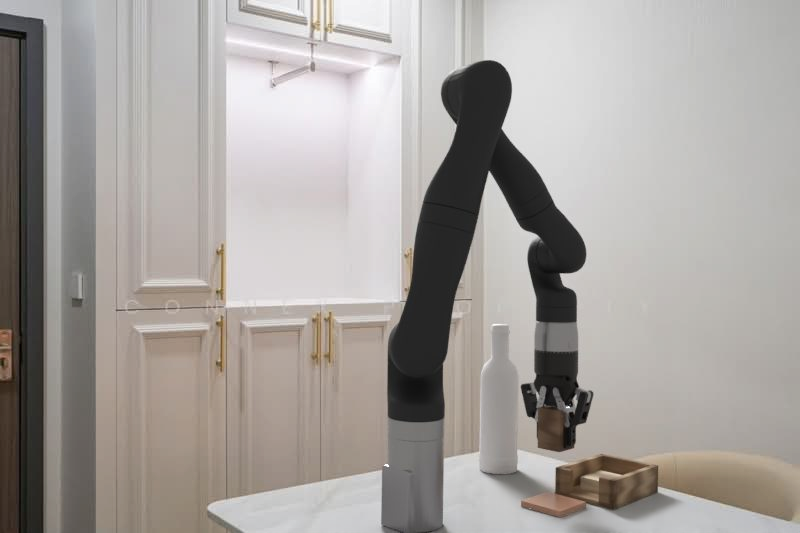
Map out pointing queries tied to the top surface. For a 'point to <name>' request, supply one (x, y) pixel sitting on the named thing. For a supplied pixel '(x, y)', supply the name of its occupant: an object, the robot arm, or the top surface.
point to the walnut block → (550, 429)
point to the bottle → (499, 407)
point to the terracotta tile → (553, 504)
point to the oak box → (607, 480)
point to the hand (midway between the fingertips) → (555, 445)
